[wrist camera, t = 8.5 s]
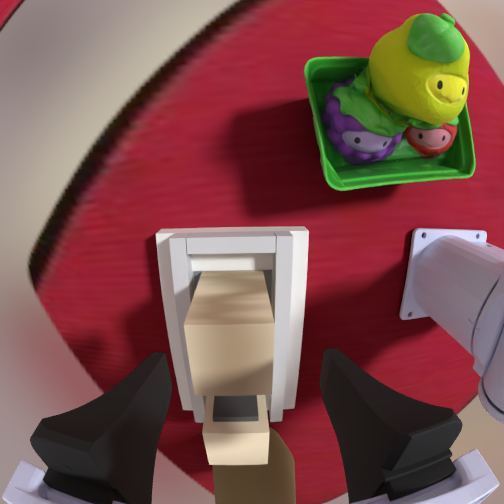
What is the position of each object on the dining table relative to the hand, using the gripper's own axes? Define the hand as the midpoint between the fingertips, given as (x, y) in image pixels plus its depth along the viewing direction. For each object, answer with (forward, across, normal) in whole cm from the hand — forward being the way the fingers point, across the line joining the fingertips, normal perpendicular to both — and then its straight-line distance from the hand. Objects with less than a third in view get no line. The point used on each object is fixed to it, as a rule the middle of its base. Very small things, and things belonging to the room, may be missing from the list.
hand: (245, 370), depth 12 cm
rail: (+9, +1, +3) cm, 10 cm away
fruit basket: (+10, -9, -13) cm, 18 cm away
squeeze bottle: (+10, 0, +18) cm, 20 cm away
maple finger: (+8, +1, 0) cm, 8 cm away
